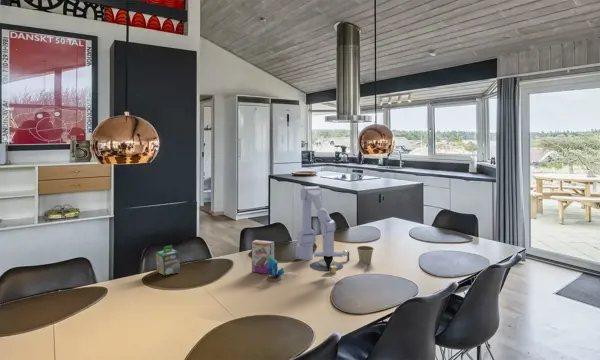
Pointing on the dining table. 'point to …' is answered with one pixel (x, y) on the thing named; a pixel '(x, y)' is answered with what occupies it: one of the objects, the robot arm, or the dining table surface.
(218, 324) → the dining table surface
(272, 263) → the gemstone
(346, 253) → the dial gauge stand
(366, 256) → the flower pot
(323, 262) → the cover
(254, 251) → the candy bar box
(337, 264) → the turntable
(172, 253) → the chalk box
